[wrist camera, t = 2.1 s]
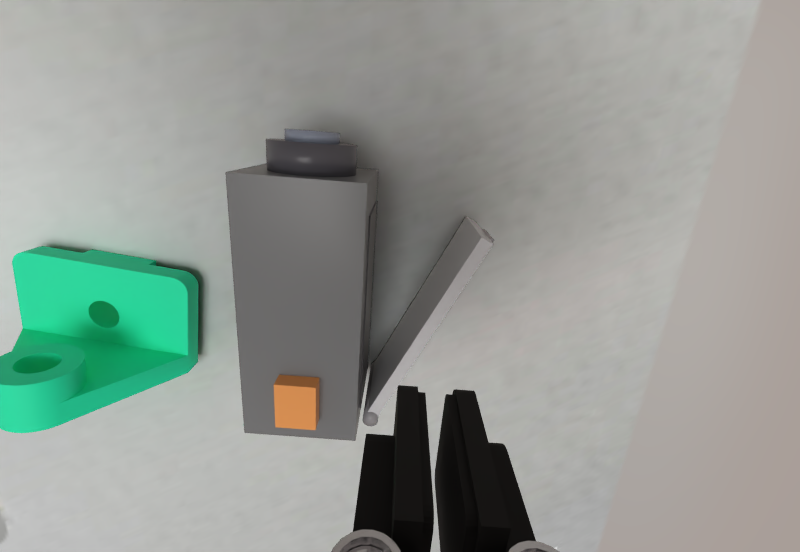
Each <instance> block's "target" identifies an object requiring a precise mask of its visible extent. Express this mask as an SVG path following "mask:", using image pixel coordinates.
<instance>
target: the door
mask: <svg viewBox="0 0 800 552" xmlns="http://www.w3.org/2000/svg"><path fill="white" fill-rule="evenodd" d="M493 242H494V239H493V238H492V237H491V236H490V235H489V233H488V232H487V231H485V230H484V229H482V228H480V226H479V225H478V224H477V223H476V222H475V221H474V220H472V219H470V218H468V217H467V216H466V217H465V219H464V221H463V222H462V224H461V225H460V227H459V229H458V230H457V232H456V233H455V235H454V236H453V238H452V240H451V241H450V243H449V244H448V246H447V248H446V249H445V251H444V252H443V254H442V256H441V257H440V259H439V260H438V262H437V264H436V265H435V267H434V268H433V270H432V272H431V273H430V275H429V276H428V278H427V280H426V281H425V283H424V284H423V286H422V287H421V289H420V291H419V292H418V294H417V295H416V297H415V299H414V300H413V302H412V303H411V305H410V307H409V308H408V310H407V311H406V313H405V315H404V316H403V318H402V319H401V321H400V323H399V324H398V326H397V327H396V329H395V331H394V332H393V334H392V335H391V337H390V338H389V340H388V342H387V343H386V345H385V346H384V348H383V350H382V351H381V353H380V354H379V356H378V358H377V359H376V361H374V362H373V363H372V364H371V369H370V375H369V382H368V388H367V395H366V401H365V408H364V414H363V423H364V424H365V425H367V426H374V425H376V424H377V422H378V416H379V415H380V413H381V412H382V410H383V409H384V407H385V406H386V404H387V403H388V401H389V400H390V398H391V397H392V395H393V394H394V392H395V391H396V389H397V388H398V385H400V384H401V382H402V381H403V379H404V378H405V376H406V375H407V373H408V372H409V370H410V369H411V367H412V366H413V364H414V363H415V361H416V360H417V358H418V357H419V355H420V354H421V352H422V351H423V349H424V348H425V346H426V345H427V343H428V342H429V340H430V339H431V337H432V336H433V334H434V333H435V331H436V330H437V328H438V327H439V325H440V324H441V322H442V321H443V319H444V318H445V316H446V315H447V313H448V312H449V310H450V309H451V307H452V306H453V304H454V303H455V301H456V300H457V298H458V297H459V295H460V294H461V292H462V291H463V289H464V288H465V286H466V285H467V283H468V282H469V280H470V279H471V277H472V276H473V274H474V273H475V271H476V270H477V268H478V267H479V265H480V264H481V262H482V261H483V259H484V258H485V256H486V255H487V253H488V252H489V250H490V249H491V247H492V246H493Z"/></svg>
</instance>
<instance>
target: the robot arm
mask: <svg viewBox="0 0 800 552" xmlns="http://www.w3.org/2000/svg"><path fill="white" fill-rule="evenodd" d="M435 490H436V502H437V514H438V526H439V539H440V551H441V552H559V551H557V550H556V549H554V548H553V547H551V546H549V545H546V544H544V543H541V542H537V541H536V540H535V537H534V534H533V531H532V527H531V524H530V521H529V518H528V515H527V512H526V509H525V505H524V502H523V499H522V496H521V493H520V490H519V487H518V483H517V480H516V477H515V474H514V471H513V468H512V464H511V461H510V458H509V455H508V452H507V449H506V447H505V445H504V444H501V443H488V439H487V435H486V432H485V428H484V424H483V420H482V417H481V413H480V409H479V405H478V402H477V398H476V394H475V392H474V391H468V390H454V391H453V394H452V395H448V394H446V397H445V403H444V410H443V418H442V425H441V432H440V439H439V446H438V454H437V461H436V468H435ZM433 525H434V508H433V493H432V480H431V466H430V452H429V438H428V425H427V411H426V397H425V393H421V392H418V387H413V386H400V385H398V391H397V402H396V413H395V424H394V436H390V435H376V434H366V439H365V446H364V453H363V461H362V468H361V476H360V483H359V490H358V498H357V505H356V513H355V520H354V528H353V532H351V533H349V534H348V535H346V536H345V537H343V538H341V539H340V541H339V542H338V543H337V544H336V545H335V546H334V547H333V549H332V551H331V552H430V549H431V542H432V536H433Z"/></svg>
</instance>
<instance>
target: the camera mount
mask: <svg viewBox="0 0 800 552" xmlns="http://www.w3.org/2000/svg"><path fill="white" fill-rule="evenodd" d="M12 264H13V270H14V276H15V283H16V289H17V295H18V301H19V307H20V313H21V319H22V325H23V329H22V332H21V334H20V336H19V338H18V340H17V342H16V344H15V346H14V348H13V350H12V352H9V353H7V354H4V355H2V356H1V357H0V428H1V429H2V430H5V431H8V432H14V433H29V432H36V431H42V430H46V429H49V428H53V427H55V426H58V425H61V424H63V423H66V422H68V421H70V420H73V419H75V418H78V417H80V416H83V415H85V414H88V413H90V412H93V411H95V410H97V409H100V408H102V407H105V406H107V405H110V404H112V403H115V402H117V401H120V400H122V399H124V398H127V397H129V396H132V395H134V394H137V393H139V392H142V391H144V390H146V389H149V388H151V387H154V386H156V385H159V384H161V383H164V382H166V381H169V380H171V379H173V378H176V377H178V376H181V375H183V374H186V373H188V372H189V371H190V370H191V369H192V368H193V366H194V365H195V364H196V363H197V362H198V289H199V286H198V282H197V280H196V278H195V277H194V276H193V275H192V274H191V273H189V272H187V271H183V270H177V269H172V268H166V267H160V266H156V261H155V260H150V259H144V258H138V257H132V256H127V255H121V254H115V253H110V252H104V251H98V250H93V249H92V250H89V251H87V252H84V253H80V252H74V251H69V250H63V249H57V248H51V247H45V246H41V247H37V248H34V249H31V250H27V251H24V252H21V253H18V254H16V255H15V256H14V258H13V261H12Z"/></svg>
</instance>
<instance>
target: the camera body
mask: <svg viewBox="0 0 800 552" xmlns="http://www.w3.org/2000/svg"><path fill="white" fill-rule="evenodd" d="M266 156H267V164H262V165H257V166H253V167H248V168H243V169H238V170H234V171H229V172H226V185H227V198H228V212H229V226H230V240H231V253H232V267H233V281H234V295H235V308H236V322H237V336H238V350H239V363H240V377H241V391H242V404H243V418H244V432H245V433H255V434H269V435H283V436H297V437H311V438H325V439H339V440H352V441H355V440H356V434H357V428H358V422H359V416H360V410H361V404H362V398H363V392H364V386H365V380H366V374H367V368H368V356H369V338H370V321H371V303H372V285H373V267H374V250H375V232H376V214H377V185H378V170H376V169H363V168H356V165H357V145H351V144H343V143H340V133H334V132H322V131H310V130H296V129H285V139H266Z"/></svg>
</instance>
